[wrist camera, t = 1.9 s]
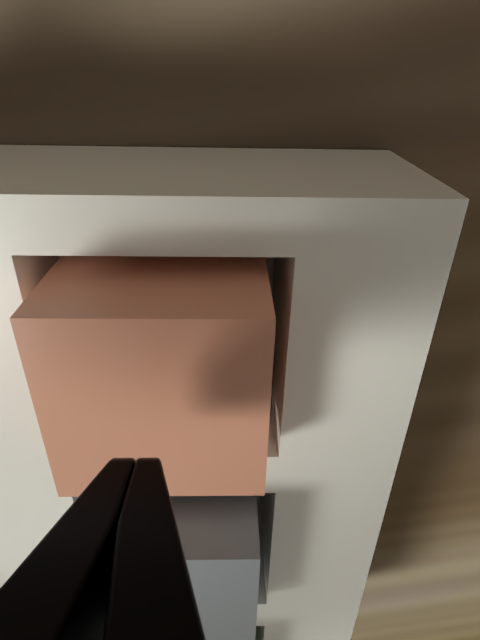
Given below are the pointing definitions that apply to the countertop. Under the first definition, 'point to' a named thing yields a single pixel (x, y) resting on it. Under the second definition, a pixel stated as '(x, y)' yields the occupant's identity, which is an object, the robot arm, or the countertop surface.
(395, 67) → the countertop surface
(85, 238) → the keypad housing
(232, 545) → the slate key
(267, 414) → the terracotta key
